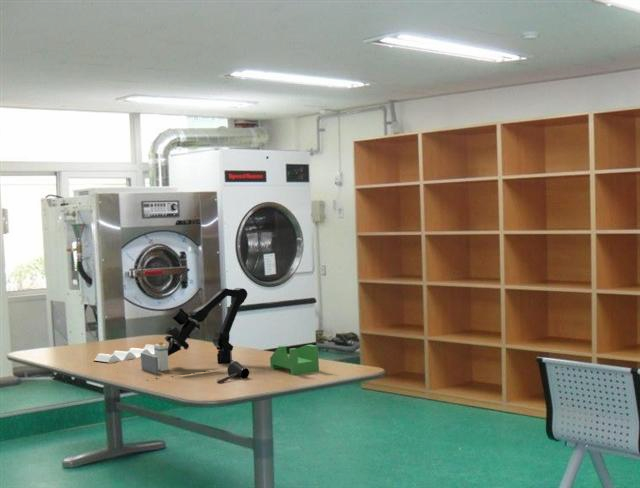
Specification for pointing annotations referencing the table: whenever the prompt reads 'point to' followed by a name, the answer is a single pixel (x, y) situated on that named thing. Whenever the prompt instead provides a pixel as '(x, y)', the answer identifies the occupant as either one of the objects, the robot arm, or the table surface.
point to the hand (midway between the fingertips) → (165, 356)
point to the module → (162, 355)
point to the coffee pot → (235, 371)
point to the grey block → (150, 363)
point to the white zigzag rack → (125, 354)
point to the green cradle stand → (296, 359)
